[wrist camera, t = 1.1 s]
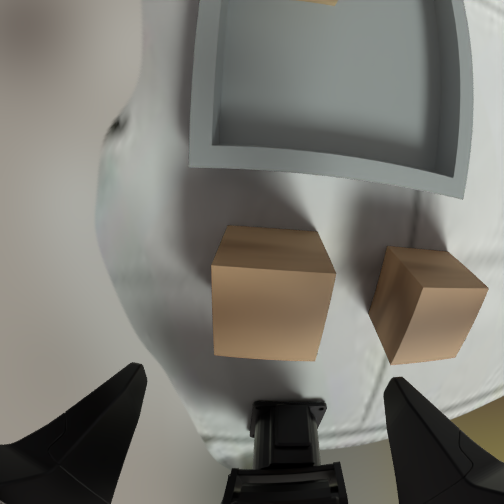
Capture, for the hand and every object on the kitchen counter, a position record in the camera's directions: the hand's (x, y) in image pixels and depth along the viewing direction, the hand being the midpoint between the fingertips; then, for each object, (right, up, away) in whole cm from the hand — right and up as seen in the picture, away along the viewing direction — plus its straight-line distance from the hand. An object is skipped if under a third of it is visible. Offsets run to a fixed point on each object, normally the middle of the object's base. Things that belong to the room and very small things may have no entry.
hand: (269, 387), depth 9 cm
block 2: (+10, +2, +8) cm, 13 cm away
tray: (+4, +16, +2) cm, 17 cm away
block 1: (0, +4, +8) cm, 9 cm away
